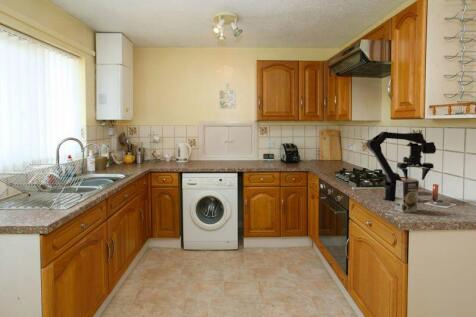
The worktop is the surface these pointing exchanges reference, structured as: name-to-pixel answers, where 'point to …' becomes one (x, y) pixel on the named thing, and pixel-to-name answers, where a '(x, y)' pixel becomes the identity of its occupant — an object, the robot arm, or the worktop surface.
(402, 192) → the coffee box
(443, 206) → the wheel base
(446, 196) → the worktop surface
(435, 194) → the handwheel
